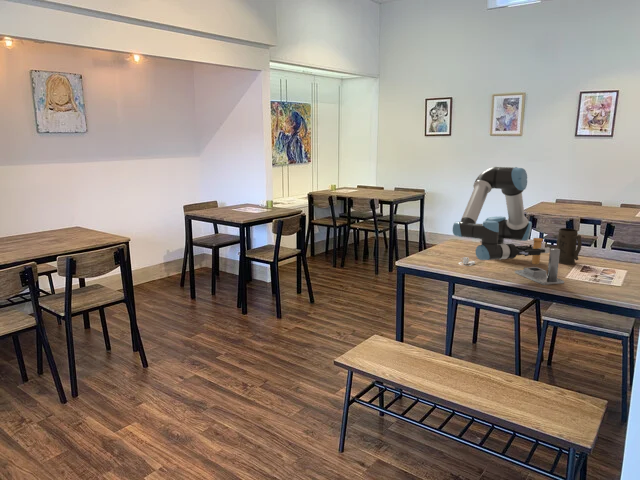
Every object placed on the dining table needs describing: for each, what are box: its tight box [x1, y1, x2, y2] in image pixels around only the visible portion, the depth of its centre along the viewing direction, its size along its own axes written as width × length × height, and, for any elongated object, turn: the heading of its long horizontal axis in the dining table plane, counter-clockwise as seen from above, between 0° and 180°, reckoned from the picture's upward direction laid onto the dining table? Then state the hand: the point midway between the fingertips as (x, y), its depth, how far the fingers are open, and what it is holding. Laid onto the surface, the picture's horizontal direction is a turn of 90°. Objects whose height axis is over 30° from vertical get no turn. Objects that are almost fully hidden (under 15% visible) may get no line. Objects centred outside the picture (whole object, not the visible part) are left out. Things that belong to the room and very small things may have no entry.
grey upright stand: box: [514, 247, 565, 286], centre depth 237 cm, size 23×12×17 cm, turn 13°
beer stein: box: [555, 227, 583, 265], centre depth 266 cm, size 15×10×20 cm
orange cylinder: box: [531, 237, 544, 265], centre depth 239 cm, size 4×4×13 cm
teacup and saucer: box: [457, 256, 476, 267], centre depth 265 cm, size 9×8×4 cm
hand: (546, 249), depth 240 cm, fingers closed on orange cylinder, 4 cm apart
